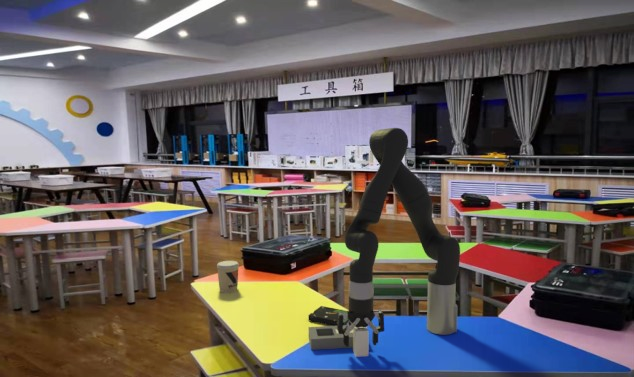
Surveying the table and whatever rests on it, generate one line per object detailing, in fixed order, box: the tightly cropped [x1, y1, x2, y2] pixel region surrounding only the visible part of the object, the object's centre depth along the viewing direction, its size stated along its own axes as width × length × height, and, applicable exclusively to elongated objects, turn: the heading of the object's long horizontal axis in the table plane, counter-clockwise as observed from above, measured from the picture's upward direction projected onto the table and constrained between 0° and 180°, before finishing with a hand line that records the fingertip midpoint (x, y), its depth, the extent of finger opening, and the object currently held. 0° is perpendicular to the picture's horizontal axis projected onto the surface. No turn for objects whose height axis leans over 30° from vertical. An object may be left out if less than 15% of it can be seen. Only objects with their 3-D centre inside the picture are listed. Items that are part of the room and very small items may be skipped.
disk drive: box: [308, 305, 349, 326], centre depth 162 cm, size 10×3×15 cm
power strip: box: [308, 325, 353, 351], centre depth 143 cm, size 18×9×4 cm, turn 96°
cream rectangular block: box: [352, 326, 370, 358], centre depth 135 cm, size 4×4×8 cm
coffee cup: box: [216, 260, 240, 293], centre depth 194 cm, size 9×9×12 cm
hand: (360, 345), depth 136 cm, fingers open, 8 cm apart
